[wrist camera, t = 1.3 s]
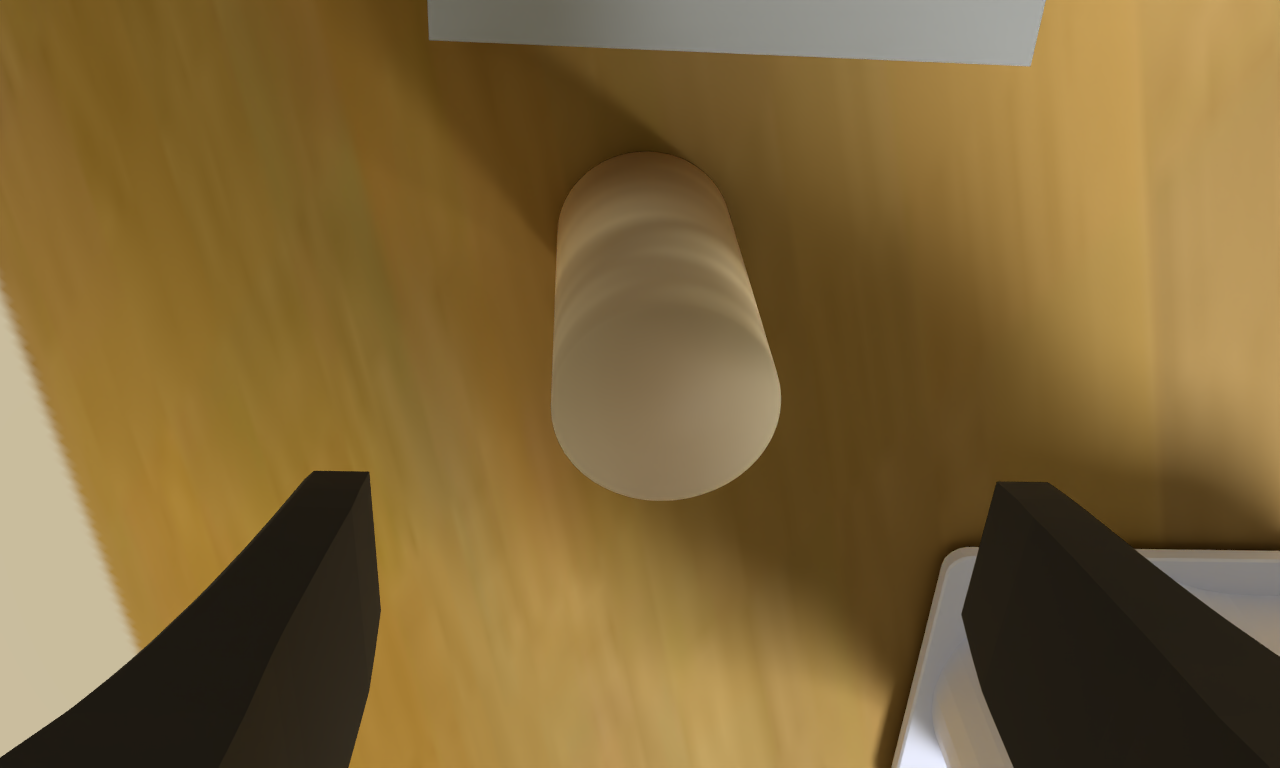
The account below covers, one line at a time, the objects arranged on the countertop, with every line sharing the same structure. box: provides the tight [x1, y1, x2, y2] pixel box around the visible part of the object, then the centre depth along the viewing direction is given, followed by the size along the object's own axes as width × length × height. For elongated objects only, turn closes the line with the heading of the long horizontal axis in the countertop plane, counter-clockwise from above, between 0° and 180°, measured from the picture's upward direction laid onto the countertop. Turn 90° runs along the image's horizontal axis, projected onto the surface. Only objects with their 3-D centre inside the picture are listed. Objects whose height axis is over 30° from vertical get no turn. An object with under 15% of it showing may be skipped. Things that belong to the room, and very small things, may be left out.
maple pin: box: [551, 151, 781, 501], centre depth 18 cm, size 3×3×6 cm
